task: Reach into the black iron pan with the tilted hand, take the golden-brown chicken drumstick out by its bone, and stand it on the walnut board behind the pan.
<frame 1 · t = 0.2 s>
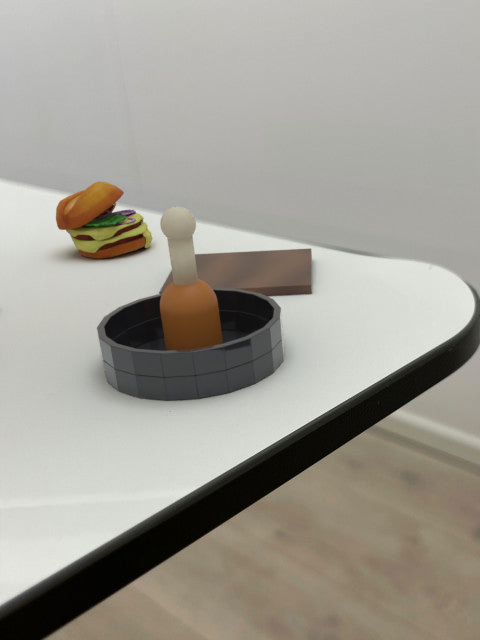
pan: (197, 365, 67), on the table
cheeseburger: (109, 252, 102), on the table
board: (242, 281, 88), on the table
drumstick: (196, 360, 66), resting on pan
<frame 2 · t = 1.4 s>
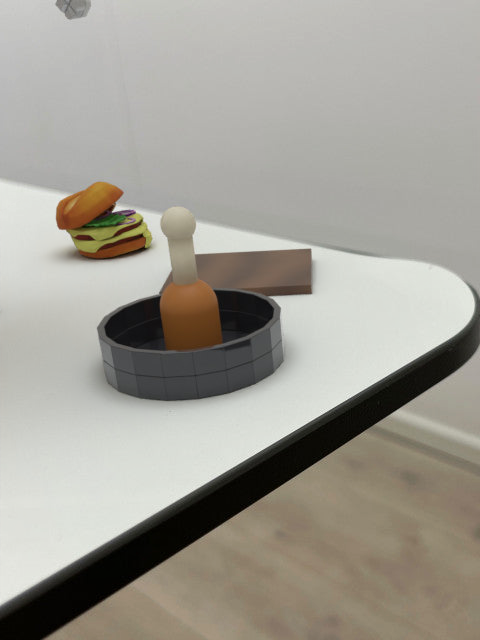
hand: (32, 22, 55), 28 cm above the table, tool tilted 45°, fingers open, 8 cm apart
nothing on the table moved.
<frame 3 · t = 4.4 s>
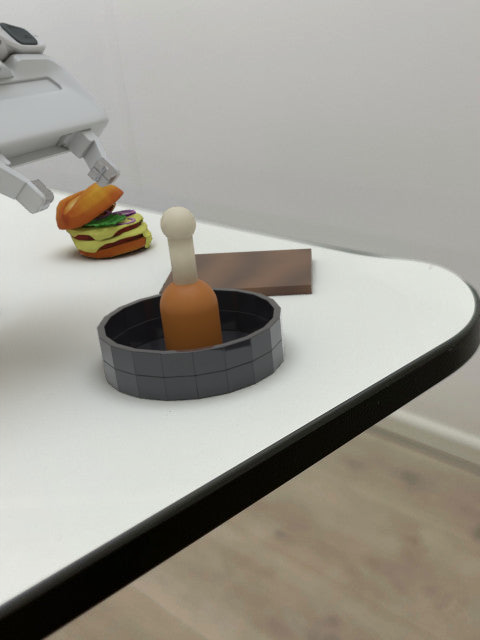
hand: (81, 192, 62), 15 cm above the table, tool tilted 45°, fingers open, 8 cm apart
nothing on the table moved.
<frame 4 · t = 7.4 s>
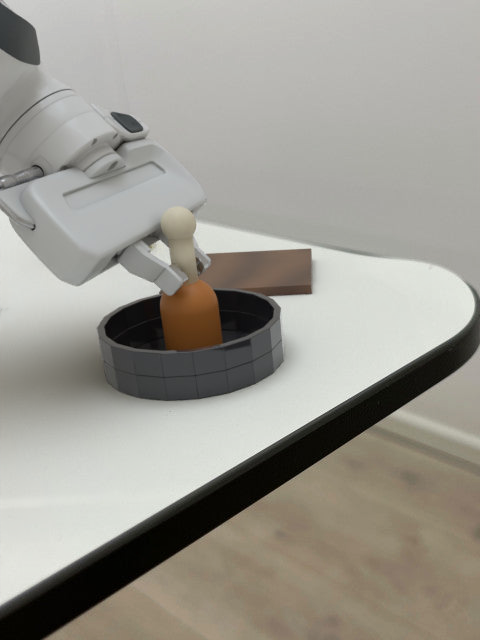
hand: (192, 279, 63), 8 cm above the table, tool tilted 45°, fingers closed on drumstick, 3 cm apart
drumstick: (196, 360, 66), point 1 cm above the table, touching gripper, pan
everything else where it was.
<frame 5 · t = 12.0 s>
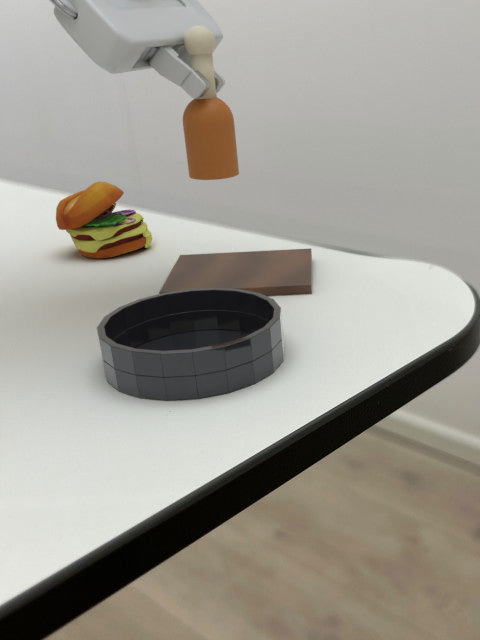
hand: (211, 90, 71), 21 cm above the table, tool tilted 45°, fingers closed on drumstick
drumstick: (214, 175, 75), point 14 cm above the table, touching gripper
everything else where it was.
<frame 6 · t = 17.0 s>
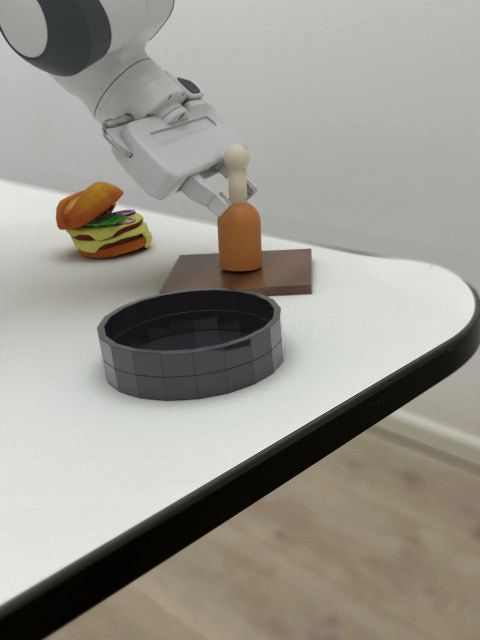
hand: (240, 203, 84), 9 cm above the table, tool tilted 45°, fingers open, 6 cm apart
drumstick: (240, 266, 87), point 2 cm above the table, touching board
everything else where it was.
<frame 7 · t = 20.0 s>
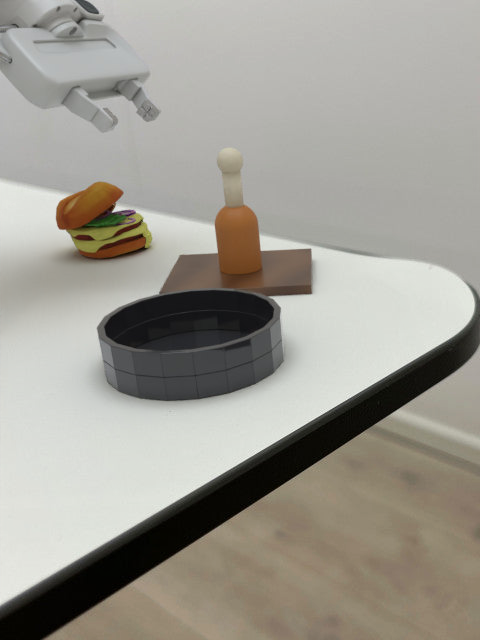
hand: (134, 122, 83), 18 cm above the table, tool tilted 45°, fingers open, 8 cm apart
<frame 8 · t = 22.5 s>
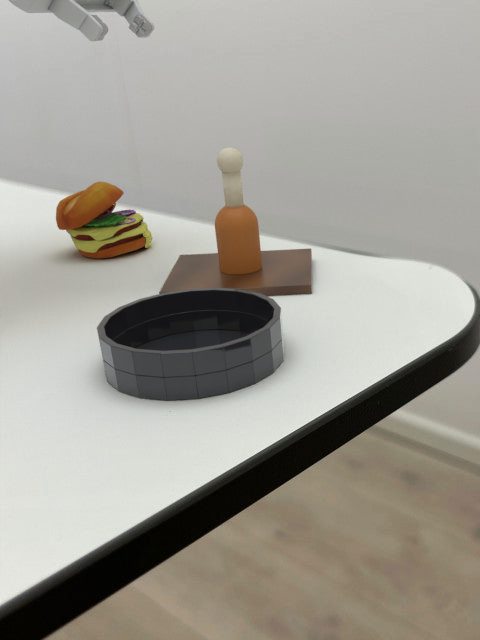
hand: (126, 34, 78), 26 cm above the table, tool tilted 45°, fingers open, 8 cm apart
nothing on the table moved.
at the end: drumstick inside the target area on the board (0.2 cm from its centre), point 1.5 cm above the board's base; drumstick tilted 0°; drumstick touching board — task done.
